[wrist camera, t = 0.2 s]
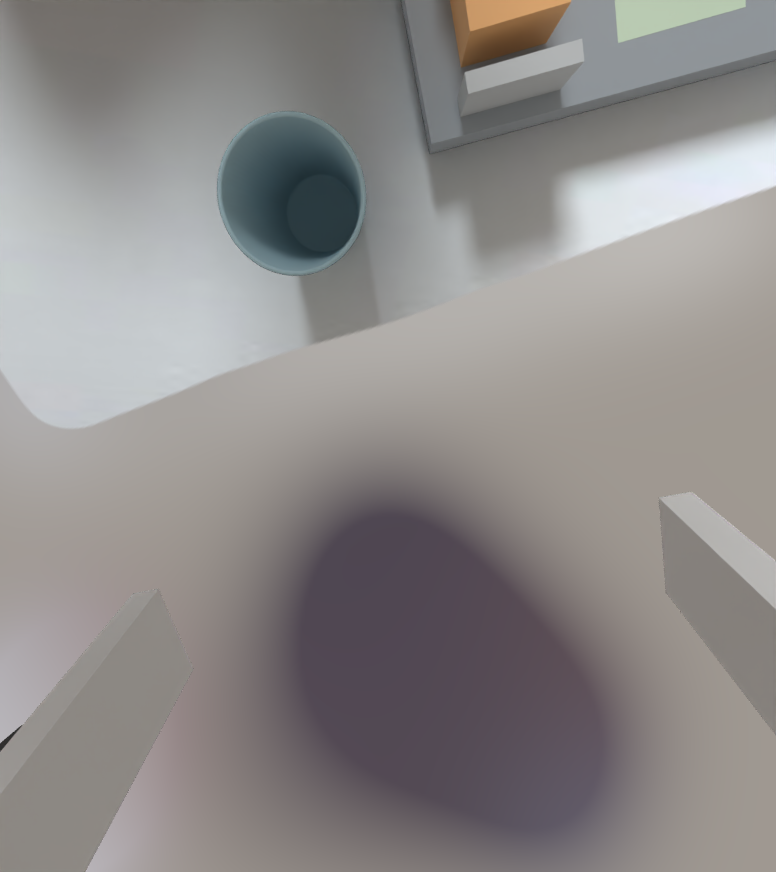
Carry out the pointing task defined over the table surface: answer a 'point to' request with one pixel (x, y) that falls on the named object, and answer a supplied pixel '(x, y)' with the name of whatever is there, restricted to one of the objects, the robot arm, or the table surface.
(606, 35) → the platform
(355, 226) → the cup
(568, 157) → the table surface
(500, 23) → the orange block
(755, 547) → the robot arm
